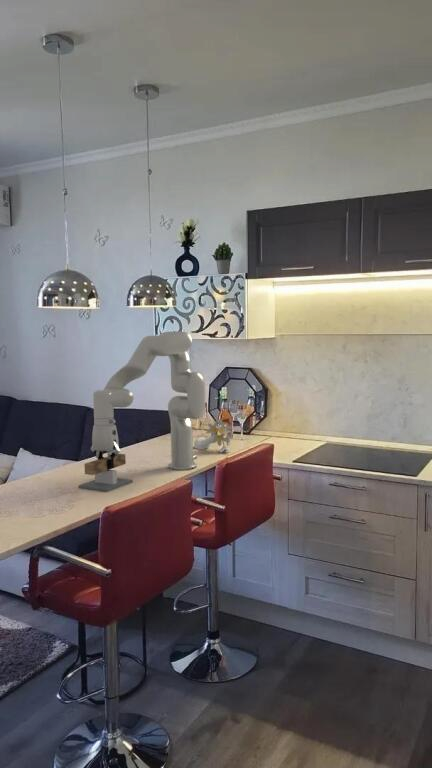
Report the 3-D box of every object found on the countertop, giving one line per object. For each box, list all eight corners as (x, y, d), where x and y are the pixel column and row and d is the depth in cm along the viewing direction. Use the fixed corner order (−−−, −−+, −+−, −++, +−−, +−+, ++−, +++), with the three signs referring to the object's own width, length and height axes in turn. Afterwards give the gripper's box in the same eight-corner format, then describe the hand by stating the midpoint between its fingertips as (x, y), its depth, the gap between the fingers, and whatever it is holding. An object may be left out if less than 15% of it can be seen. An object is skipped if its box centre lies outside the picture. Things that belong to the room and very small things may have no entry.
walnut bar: (117, 463, 242) (117, 453, 242) (125, 463, 240) (125, 454, 240) (84, 474, 225) (84, 463, 224) (93, 475, 223) (92, 464, 222)
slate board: (105, 478, 243) (104, 464, 242) (132, 482, 236) (132, 467, 236) (78, 487, 229) (77, 472, 229) (107, 492, 222) (106, 476, 222)
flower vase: (198, 469, 301) (225, 451, 283) (182, 436, 305) (208, 417, 287) (217, 461, 310) (244, 443, 292) (201, 430, 313) (227, 410, 295)
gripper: (127, 421, 230) (128, 468, 231) (93, 419, 238) (95, 464, 239) (115, 424, 223) (116, 472, 225) (81, 422, 231) (83, 468, 233)
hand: (105, 467), depth 232 cm, fingers closed on walnut bar, 4 cm apart
